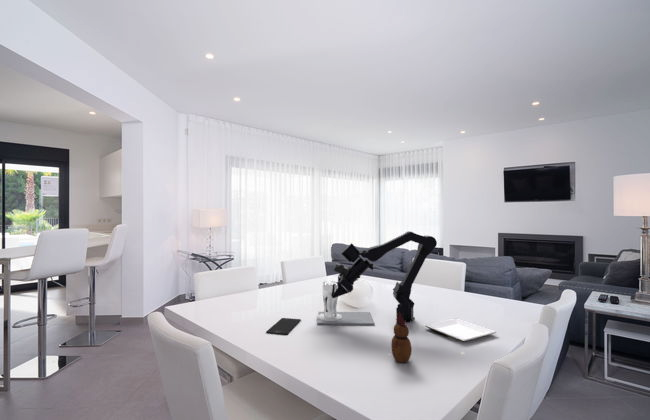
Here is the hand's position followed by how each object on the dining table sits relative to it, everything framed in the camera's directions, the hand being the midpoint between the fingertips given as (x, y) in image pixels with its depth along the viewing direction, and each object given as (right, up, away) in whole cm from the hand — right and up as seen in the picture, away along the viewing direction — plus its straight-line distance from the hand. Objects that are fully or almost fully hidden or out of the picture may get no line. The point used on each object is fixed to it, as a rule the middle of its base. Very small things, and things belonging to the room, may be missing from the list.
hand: (332, 294), depth 142 cm
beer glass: (-1, -10, 0) cm, 10 cm away
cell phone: (-20, -11, -10) cm, 25 cm away
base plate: (+6, -11, 0) cm, 12 cm away
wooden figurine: (+21, -10, -41) cm, 47 cm away
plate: (+50, -11, -17) cm, 53 cm away
